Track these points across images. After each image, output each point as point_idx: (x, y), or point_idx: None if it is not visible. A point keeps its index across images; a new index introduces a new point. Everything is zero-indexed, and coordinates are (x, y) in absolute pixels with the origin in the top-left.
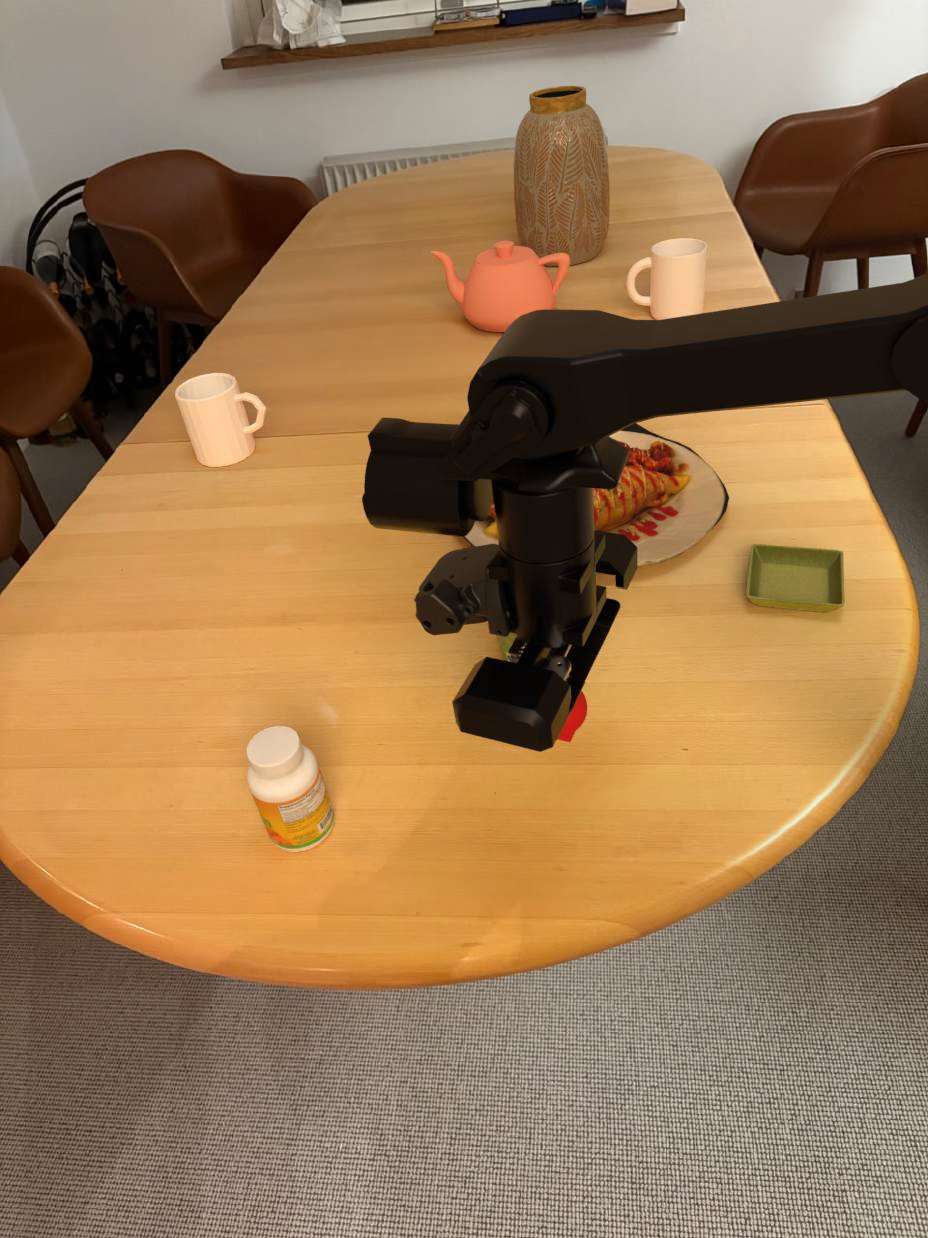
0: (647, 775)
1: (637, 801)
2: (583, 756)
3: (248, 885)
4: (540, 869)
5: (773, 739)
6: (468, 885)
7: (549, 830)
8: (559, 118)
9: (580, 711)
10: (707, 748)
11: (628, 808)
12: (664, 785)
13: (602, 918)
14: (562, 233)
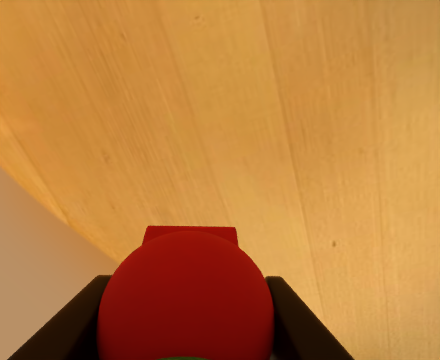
0: (284, 216)
1: (241, 215)
2: (303, 134)
3: None
4: (93, 135)
5: (358, 311)
6: (13, 42)
7: (158, 127)
8: None
9: None
10: (338, 263)
11: (227, 208)
12: (273, 235)
13: (68, 218)
14: None
